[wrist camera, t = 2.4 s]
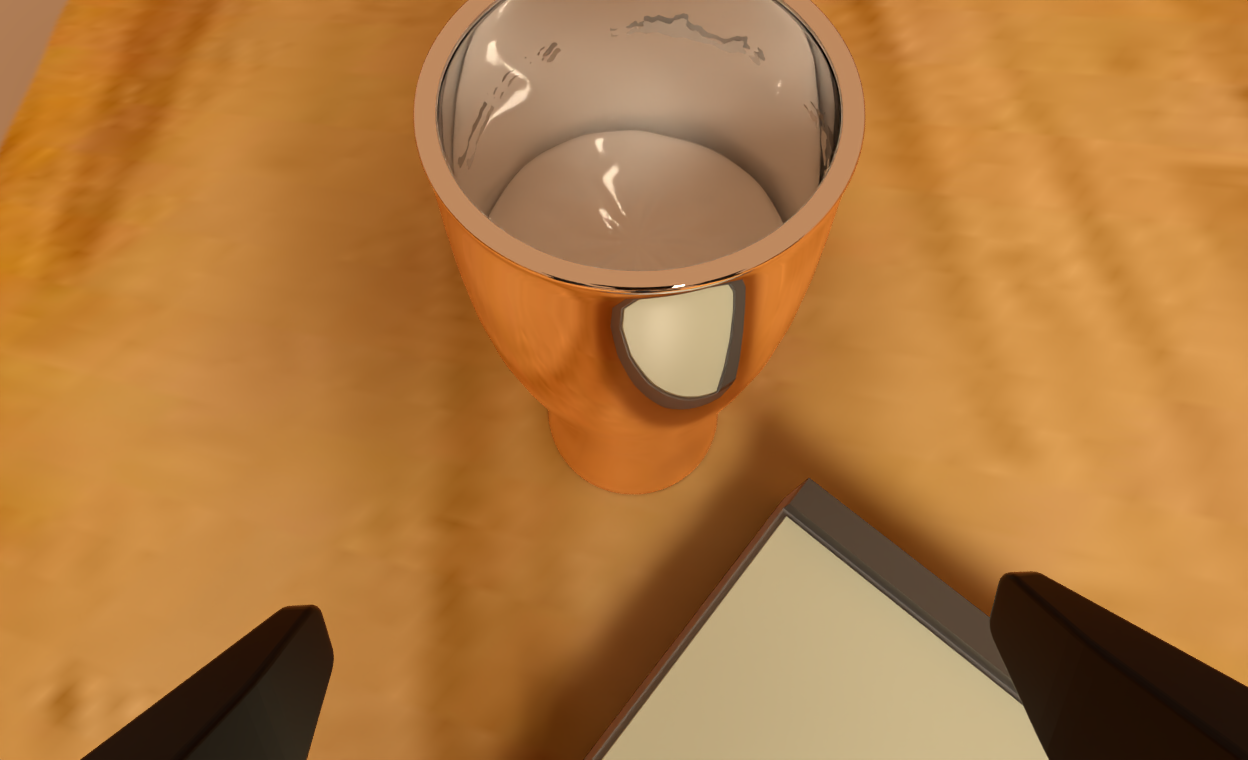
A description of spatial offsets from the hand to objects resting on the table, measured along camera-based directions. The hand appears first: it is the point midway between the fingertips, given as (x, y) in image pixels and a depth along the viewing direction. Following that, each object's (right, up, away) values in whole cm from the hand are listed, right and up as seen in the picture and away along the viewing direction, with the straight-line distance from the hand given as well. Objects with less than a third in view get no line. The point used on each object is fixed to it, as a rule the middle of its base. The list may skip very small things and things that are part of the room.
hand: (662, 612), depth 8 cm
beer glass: (0, +2, +15) cm, 15 cm away
